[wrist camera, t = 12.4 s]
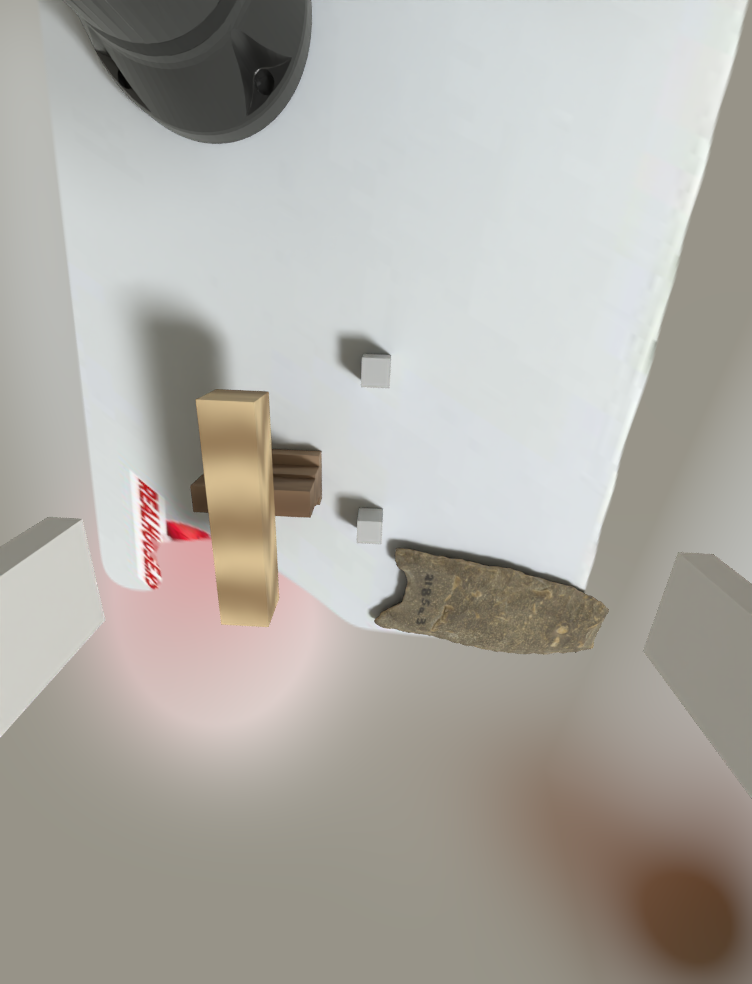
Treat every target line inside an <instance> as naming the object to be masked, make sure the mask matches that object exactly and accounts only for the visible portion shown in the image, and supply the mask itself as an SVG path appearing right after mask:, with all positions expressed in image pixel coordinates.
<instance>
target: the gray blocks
mask: <svg viewBox="0 0 752 984" xmlns="http://www.w3.org/2000/svg"><path fill="white" fill-rule="evenodd" d="M390 368H391V355H380V354H363V356H362V370H361V387H371V388H389V387H390ZM382 520H383V509H376V508H359V512H358V519H357V543H367V544H381V540H382Z"/></svg>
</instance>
